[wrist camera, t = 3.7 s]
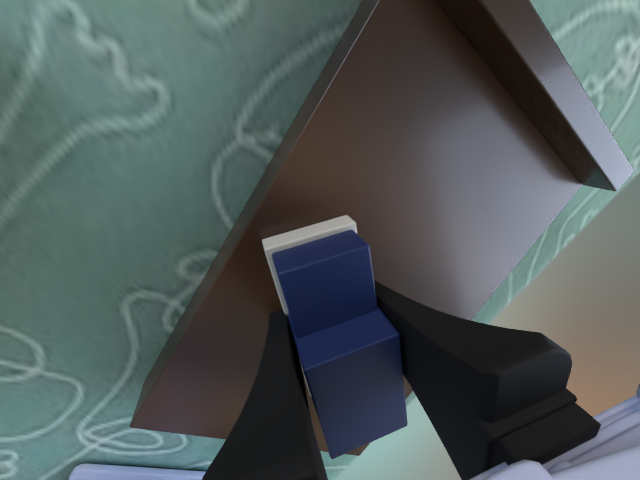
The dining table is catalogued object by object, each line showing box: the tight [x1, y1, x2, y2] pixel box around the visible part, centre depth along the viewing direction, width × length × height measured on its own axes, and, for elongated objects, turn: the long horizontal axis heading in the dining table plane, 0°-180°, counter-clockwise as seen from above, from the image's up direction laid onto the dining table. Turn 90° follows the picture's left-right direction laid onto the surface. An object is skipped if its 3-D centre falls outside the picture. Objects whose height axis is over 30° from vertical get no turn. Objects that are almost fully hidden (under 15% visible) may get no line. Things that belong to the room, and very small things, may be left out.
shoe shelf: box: [130, 0, 634, 456], centre depth 14 cm, size 22×14×4 cm, turn 147°
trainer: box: [262, 215, 407, 459], centre depth 11 cm, size 8×4×4 cm, turn 12°
